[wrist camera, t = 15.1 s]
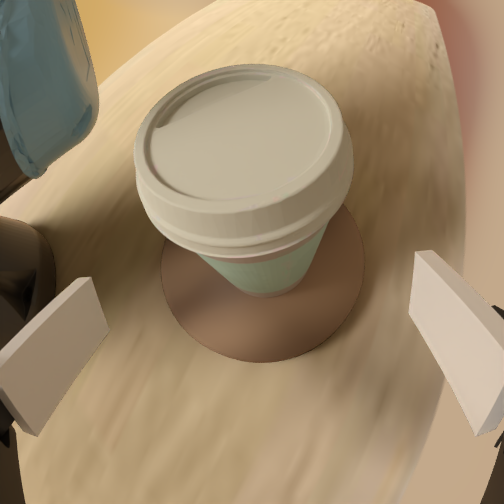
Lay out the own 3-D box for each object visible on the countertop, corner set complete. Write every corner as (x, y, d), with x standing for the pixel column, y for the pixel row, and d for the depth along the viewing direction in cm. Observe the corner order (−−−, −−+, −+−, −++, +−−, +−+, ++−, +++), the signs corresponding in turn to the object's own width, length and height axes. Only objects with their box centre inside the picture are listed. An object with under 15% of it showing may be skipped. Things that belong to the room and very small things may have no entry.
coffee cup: (329, 201, 22) (345, 56, 11) (330, 321, 19) (375, 234, 8) (212, 200, 23) (155, 68, 12) (195, 314, 20) (88, 231, 9)
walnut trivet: (136, 261, 24) (128, 253, 23) (267, 154, 26) (265, 142, 25) (253, 405, 19) (250, 407, 17) (398, 263, 21) (404, 254, 20)
